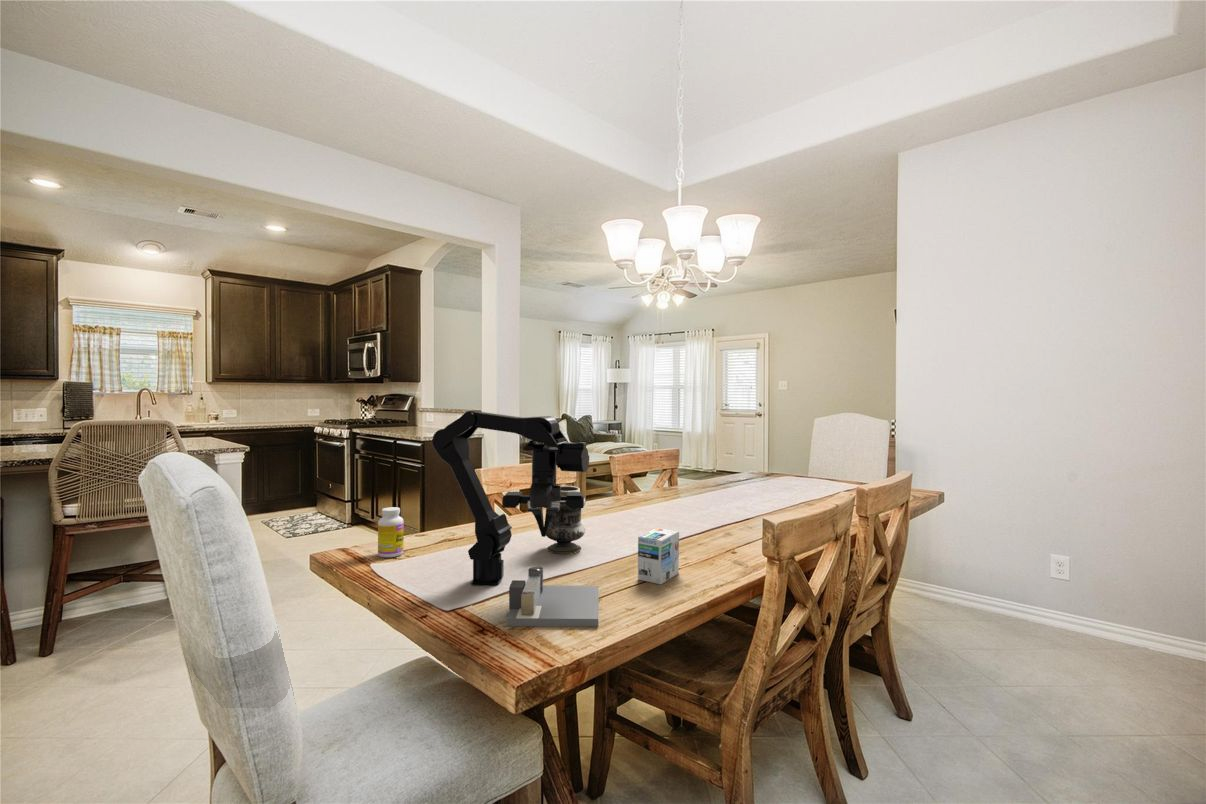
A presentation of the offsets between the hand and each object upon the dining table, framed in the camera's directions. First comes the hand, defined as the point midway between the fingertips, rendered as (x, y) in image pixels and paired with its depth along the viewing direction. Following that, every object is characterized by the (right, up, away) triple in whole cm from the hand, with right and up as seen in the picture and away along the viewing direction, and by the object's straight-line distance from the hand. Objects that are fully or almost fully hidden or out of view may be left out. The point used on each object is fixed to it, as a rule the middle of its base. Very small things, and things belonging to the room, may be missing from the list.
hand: (543, 536), depth 127 cm
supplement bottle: (-45, -11, +24) cm, 52 cm away
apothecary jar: (+3, -12, +30) cm, 33 cm away
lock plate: (+4, -12, -12) cm, 17 cm away
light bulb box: (+28, -12, +8) cm, 32 cm away
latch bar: (-1, -11, -12) cm, 16 cm away
